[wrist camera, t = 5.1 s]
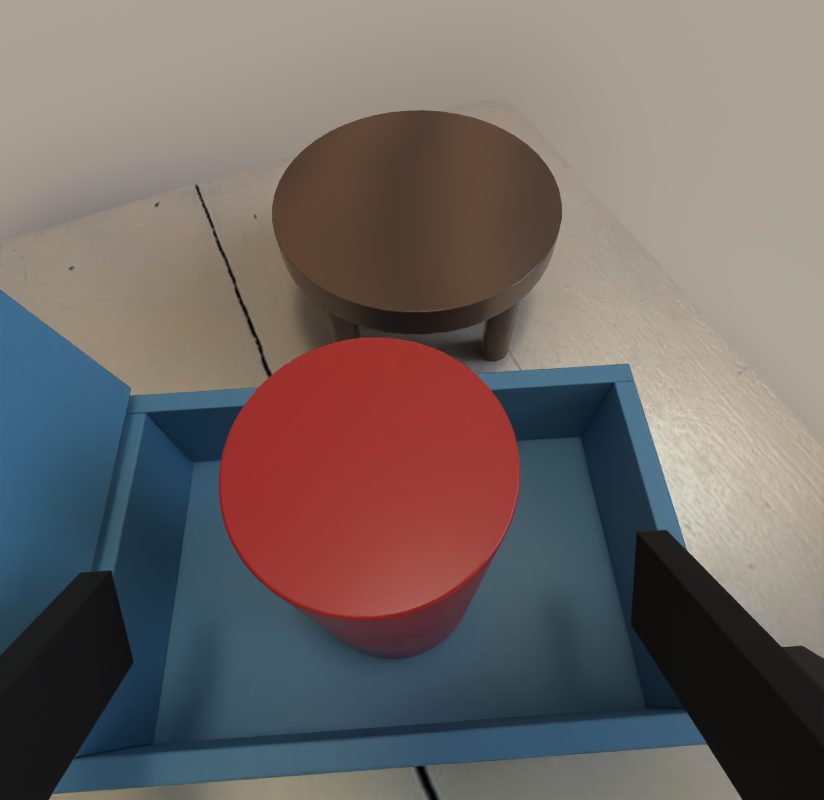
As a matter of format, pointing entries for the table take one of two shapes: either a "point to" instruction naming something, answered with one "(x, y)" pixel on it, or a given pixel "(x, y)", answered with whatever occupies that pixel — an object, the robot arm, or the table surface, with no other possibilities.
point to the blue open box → (364, 674)
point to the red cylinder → (372, 490)
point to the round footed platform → (418, 225)
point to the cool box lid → (50, 462)
